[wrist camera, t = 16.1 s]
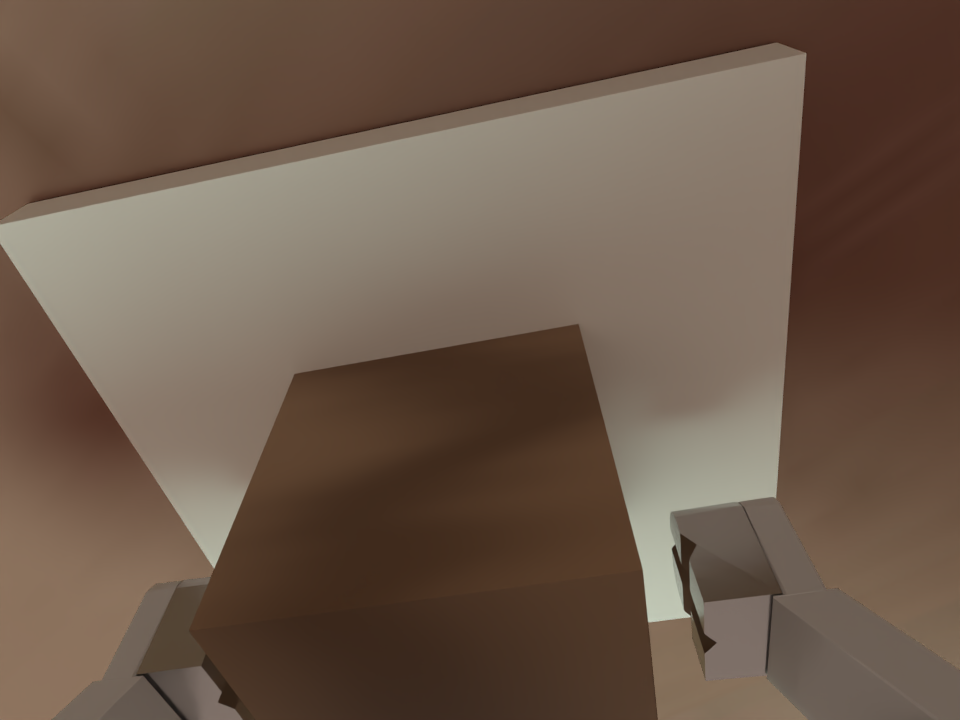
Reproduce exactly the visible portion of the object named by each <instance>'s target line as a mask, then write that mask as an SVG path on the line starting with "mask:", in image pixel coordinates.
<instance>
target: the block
mask: <svg viewBox="0 0 960 720" xmlns="http://www.w3.org/2000/svg"><path fill="white" fill-rule="evenodd" d="M189 632H190V633H191V635H192V636H193V637H194V639H195V640H196V641H197V643H198V644H199V645H200V647H201V648H202V649H203V651H204V652H205V653H206V655H207V656H208V657H209V659H210V660H211V661H212V663H213V664H214V665H215V667H216V668H217V669H218V671H219V672H220V673H221V674H222V676H223V677H224V678H225V680H226V681H227V682H228V684H229V685H230V686H231V688H232V689H233V690H234V692H235V693H236V694H237V696H238V697H239V698H240V700H241V701H242V702H243V704H244V705H245V706H246V708H247V709H248V710H249V712H250V713H251V714H252V716H253V717H254V718H255V720H658V717H657V707H656V697H655V687H654V677H653V667H652V657H651V647H650V637H649V627H648V617H647V607H646V596H645V586H644V576H643V569H642V565H641V561H640V557H639V553H638V549H637V546H636V542H635V538H634V534H633V530H632V526H631V523H630V519H629V515H628V511H627V507H626V504H625V500H624V496H623V492H622V488H621V484H620V481H619V477H618V473H617V469H616V465H615V461H614V458H613V454H612V450H611V446H610V442H609V438H608V435H607V431H606V427H605V423H604V419H603V415H602V412H601V408H600V404H599V400H598V396H597V392H596V389H595V385H594V381H593V377H592V373H591V369H590V366H589V362H588V358H587V354H586V350H585V346H584V343H583V339H582V335H581V331H580V327H579V324H575V325H569V326H564V327H558V328H552V329H547V330H541V331H535V332H530V333H524V334H518V335H513V336H507V337H501V338H495V339H490V340H484V341H478V342H473V343H467V344H461V345H456V346H450V347H444V348H439V349H433V350H427V351H422V352H416V353H410V354H405V355H399V356H393V357H388V358H382V359H376V360H371V361H365V362H359V363H354V364H348V365H342V366H336V367H331V368H325V369H319V370H314V371H308V372H302V373H297V374H294V376H293V379H292V381H291V384H290V386H289V388H288V391H287V393H286V396H285V398H284V401H283V403H282V405H281V408H280V410H279V413H278V415H277V418H276V420H275V422H274V425H273V427H272V430H271V432H270V435H269V437H268V439H267V442H266V444H265V447H264V449H263V452H262V454H261V456H260V459H259V461H258V464H257V466H256V469H255V471H254V473H253V476H252V478H251V481H250V483H249V486H248V488H247V490H246V493H245V495H244V498H243V500H242V503H241V505H240V507H239V510H238V512H237V515H236V517H235V520H234V522H233V524H232V527H231V529H230V532H229V534H228V537H227V539H226V541H225V544H224V546H223V549H222V551H221V554H220V556H219V558H218V561H217V563H216V566H215V568H214V571H213V573H212V575H211V578H210V580H209V583H208V585H207V588H206V590H205V592H204V595H203V597H202V600H201V602H200V605H199V607H198V609H197V612H196V614H195V617H194V619H193V622H192V624H191V626H190V629H189Z"/></svg>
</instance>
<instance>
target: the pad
mask: <svg viewBox="0 0 960 720" xmlns="http://www.w3.org/2000/svg"><path fill="white" fill-rule="evenodd" d="M805 67H806V53H805V52H802V51H799V50H796V49H794V48H791V47H788V46H785V45H783V44H780V43H772V44H767V45H763V46H758V47H754V48H749V49H744V50H740V51H735V52H730V53H726V54H721V55H716V56H712V57H707V58H702V59H698V60H693V61H689V62H684V63H679V64H675V65H670V66H665V67H661V68H656V69H651V70H647V71H642V72H637V73H633V74H628V75H624V76H619V77H614V78H610V79H605V80H600V81H596V82H591V83H586V84H582V85H577V86H572V87H568V88H563V89H559V90H554V91H549V92H545V93H540V94H535V95H531V96H526V97H521V98H517V99H512V100H507V101H503V102H498V103H494V104H489V105H484V106H480V107H475V108H470V109H466V110H461V111H456V112H452V113H447V114H442V115H438V116H433V117H429V118H424V119H419V120H415V121H410V122H405V123H401V124H396V125H391V126H387V127H382V128H377V129H373V130H368V131H364V132H359V133H354V134H350V135H345V136H340V137H336V138H331V139H326V140H322V141H317V142H312V143H308V144H303V145H299V146H294V147H289V148H285V149H280V150H275V151H271V152H266V153H261V154H257V155H252V156H247V157H243V158H238V159H234V160H229V161H224V162H220V163H215V164H210V165H206V166H201V167H196V168H192V169H187V170H182V171H178V172H173V173H169V174H164V175H159V176H155V177H150V178H145V179H141V180H136V181H131V182H127V183H122V184H117V185H113V186H108V187H104V188H99V189H94V190H90V191H85V192H80V193H76V194H71V195H66V196H62V197H57V198H52V199H48V200H43V201H39V202H34V203H29V204H26V205H25V206H23V207H22V208H20V209H18V210H17V211H15V212H13V213H12V214H10V215H8V216H7V217H5V218H3V219H2V220H0V244H1V245H2V247H3V248H4V250H5V252H6V253H7V255H8V256H9V258H10V259H11V261H12V262H13V264H14V265H15V267H16V268H17V270H18V271H19V273H20V274H21V276H22V277H23V279H24V280H25V282H26V283H27V285H28V286H29V288H30V290H31V291H32V293H33V294H34V296H35V297H36V299H37V300H38V302H39V303H40V305H41V306H42V308H43V309H44V311H45V312H46V314H47V315H48V317H49V318H50V320H51V321H52V323H53V324H54V326H55V328H56V329H57V331H58V332H59V334H60V335H61V337H62V338H63V340H64V341H65V343H66V344H67V346H68V347H69V349H70V350H71V352H72V353H73V355H74V356H75V358H76V359H77V361H78V362H79V364H80V366H81V367H82V369H83V370H84V372H85V373H86V375H87V376H88V378H89V379H90V381H91V382H92V384H93V385H94V387H95V388H96V390H97V391H98V393H99V394H100V396H101V397H102V399H103V400H104V402H105V403H106V405H107V407H108V408H109V410H110V411H111V413H112V414H113V416H114V417H115V419H116V420H117V422H118V423H119V425H120V426H121V428H122V429H123V431H124V432H125V434H126V435H127V437H128V438H129V440H130V441H131V443H132V445H133V446H134V448H135V449H136V451H137V452H138V454H139V455H140V457H141V458H142V460H143V461H144V463H145V464H146V466H147V467H148V469H149V470H150V472H151V473H152V475H153V476H154V478H155V479H156V481H157V483H158V484H159V486H160V487H161V489H162V490H163V492H164V493H165V495H166V496H167V498H168V499H169V501H170V502H171V504H172V505H173V507H174V508H175V510H176V511H177V513H178V514H179V516H180V517H181V519H182V521H183V522H184V524H185V525H186V527H187V528H188V530H189V531H190V533H191V534H192V536H193V537H194V539H195V540H196V542H197V543H198V545H199V546H200V548H201V549H202V551H203V552H204V554H205V555H206V557H207V559H208V560H209V562H210V563H211V565H212V566H213V568H215V566H216V563H217V561H218V558H219V556H220V554H221V551H222V549H223V546H224V544H225V541H226V539H227V537H228V534H229V532H230V529H231V527H232V524H233V522H234V520H235V517H236V515H237V512H238V510H239V507H240V505H241V503H242V500H243V498H244V495H245V493H246V490H247V488H248V486H249V483H250V481H251V478H252V476H253V473H254V471H255V469H256V466H257V464H258V461H259V459H260V456H261V454H262V452H263V449H264V447H265V444H266V442H267V439H268V437H269V435H270V432H271V430H272V427H273V425H274V422H275V420H276V418H277V415H278V413H279V410H280V408H281V405H282V403H283V401H284V398H285V396H286V393H287V391H288V388H289V386H290V384H291V381H292V379H293V376H294V374H297V373H302V372H308V371H314V370H319V369H325V368H331V367H336V366H342V365H348V364H354V363H359V362H365V361H371V360H376V359H382V358H388V357H393V356H399V355H405V354H410V353H416V352H422V351H427V350H433V349H439V348H444V347H450V346H456V345H461V344H467V343H473V342H478V341H484V340H490V339H495V338H501V337H507V336H513V335H518V334H524V333H530V332H535V331H541V330H547V329H552V328H558V327H564V326H569V325H575V324H579V327H580V331H581V335H582V339H583V343H584V346H585V350H586V354H587V358H588V362H589V366H590V369H591V373H592V377H593V381H594V385H595V389H596V392H597V396H598V400H599V404H600V408H601V412H602V415H603V419H604V423H605V427H606V431H607V435H608V438H609V442H610V446H611V450H612V454H613V458H614V461H615V465H616V469H617V473H618V477H619V481H620V484H621V488H622V492H623V496H624V500H625V504H626V507H627V511H628V515H629V519H630V523H631V526H632V530H633V534H634V538H635V542H636V546H637V549H638V553H639V557H640V561H641V565H642V569H643V576H644V586H645V596H646V607H647V617H648V622H655V621H663V620H671V619H679V618H687V617H691V616H690V615H689V614H687V613H686V612H685V611H684V609H683V606H682V602H681V599H680V596H679V592H678V588H677V584H676V579H675V573H674V567H673V559H672V547H673V546H674V545H675V542H674V539H673V536H672V533H671V529H670V513H671V512H672V511H678V510H685V509H691V508H698V507H704V506H711V505H717V504H724V503H730V502H737V503H738V502H740V501H747V500H754V499H761V498H768V497H774V498H776V491H777V477H778V462H779V448H780V433H781V418H782V404H783V389H784V374H785V360H786V345H787V330H788V316H789V301H790V287H791V272H792V257H793V243H794V228H795V213H796V199H797V184H798V170H799V155H800V140H801V126H802V111H803V96H804V82H805Z"/></svg>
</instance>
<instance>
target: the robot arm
mask: <svg viewBox="0 0 960 720" xmlns="http://www.w3.org/2000/svg"><path fill="white" fill-rule="evenodd" d="M670 529H671V533H672V536H673V539H674V542H675V545H674V546H673V547H672V559H673V567H674V573H675V579H676V584H677V588H678V592H679V596H680V599H681V602H682V606H683V609H684V611H685V612H686V613H687V614H689V615H690V616H691V624H692V639H693V642H694V645H695V648H696V652H697V655H698V658H699V661H700V664H701V668H702V671H703V674H704V677H705V680H706V681H708V680H720V679H731V678H743V677H755V676H766V675H767V679H768V680H769V681H770V682H771V683H772V684H773V685H774V686H775V687H776V688H777V689H778V690H779V691H780V692H781V693H782V694H783V695H784V696H785V697H786V698H787V699H788V700H789V701H790V702H791V703H792V704H793V705H794V706H795V707H796V708H797V709H798V710H799V711H800V712H801V713H802V714H803V715H804V716H805V717H806V718H807V719H808V720H960V670H959V669H957V668H956V667H955V666H953V665H952V664H950V663H949V662H947V661H946V660H944V659H943V658H941V657H940V656H938V655H937V654H935V653H934V652H932V651H931V650H929V649H928V648H926V647H925V646H923V645H922V644H920V643H919V642H917V641H916V640H914V639H913V638H911V637H910V636H908V635H907V634H905V633H904V632H902V631H901V630H899V629H898V628H896V627H895V626H893V625H892V624H890V623H889V622H887V621H886V620H884V619H883V618H881V617H880V616H878V615H877V614H875V613H874V612H872V611H871V610H869V609H868V608H866V607H865V606H863V605H862V604H861V603H859V602H858V601H856V600H855V599H853V598H852V597H850V596H849V595H847V594H846V593H844V592H843V591H841V590H840V589H838V588H835V589H826V587H825V586H824V584H823V582H822V580H821V578H820V576H819V574H818V573H817V571H816V569H815V567H814V565H813V563H812V561H811V560H810V558H809V556H808V554H807V552H806V550H805V548H804V547H803V545H802V543H801V541H800V539H799V537H798V535H797V534H796V532H795V530H794V528H793V526H792V524H791V522H790V521H789V519H788V517H787V515H786V513H785V511H784V509H783V507H782V506H781V504H780V502H779V501H778V500H777V499H776V498H774V497H768V498H761V499H754V500H747V501H740V502H738V503H737V502H730V503H724V504H717V505H711V506H704V507H698V508H691V509H685V510H678V511H672V512H671V513H670ZM210 578H211V577H206V578H198V579H189V580H182V581H174V582H166V583H158V584H155V585H154V586H153V587H152V588H151V589H149V590H148V591H147V592H146V594H145V596H144V598H143V600H142V602H141V604H140V606H139V608H138V610H137V612H136V614H135V616H134V618H133V620H132V622H131V624H130V626H129V628H128V630H127V632H126V634H125V635H124V637H123V639H122V641H121V643H120V645H119V647H118V649H117V651H116V653H115V655H114V657H113V659H112V661H111V663H110V665H109V667H108V669H107V671H106V673H105V675H104V677H103V679H102V680H101V681H94V682H92V683H91V684H90V685H89V686H88V687H87V688H85V689H84V690H83V691H82V692H81V693H80V694H79V695H78V696H77V697H76V698H75V699H73V700H72V701H71V702H70V703H69V704H68V705H67V706H66V707H65V708H64V709H63V710H62V711H60V712H59V713H58V714H57V715H56V716H55V717H54V718H53V719H52V720H255V718H254V717H253V716H252V714H251V713H250V712H249V710H248V709H247V708H246V706H245V705H244V704H243V702H242V701H241V700H240V698H239V697H238V696H237V694H236V693H235V692H234V690H233V689H232V688H231V686H230V685H229V684H228V682H227V681H226V680H225V678H224V677H223V676H222V674H221V673H220V672H219V671H218V669H217V668H216V667H215V665H214V664H213V663H212V661H211V660H210V659H209V657H208V656H207V655H206V653H205V652H204V651H203V649H202V648H201V647H200V645H199V644H198V643H197V641H196V640H195V639H194V637H193V636H192V635H191V633H190V632H189V629H190V626H191V624H192V622H193V619H194V617H195V614H196V612H197V609H198V607H199V605H200V602H201V600H202V597H203V595H204V592H205V590H206V588H207V585H208V583H209V580H210Z"/></svg>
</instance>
